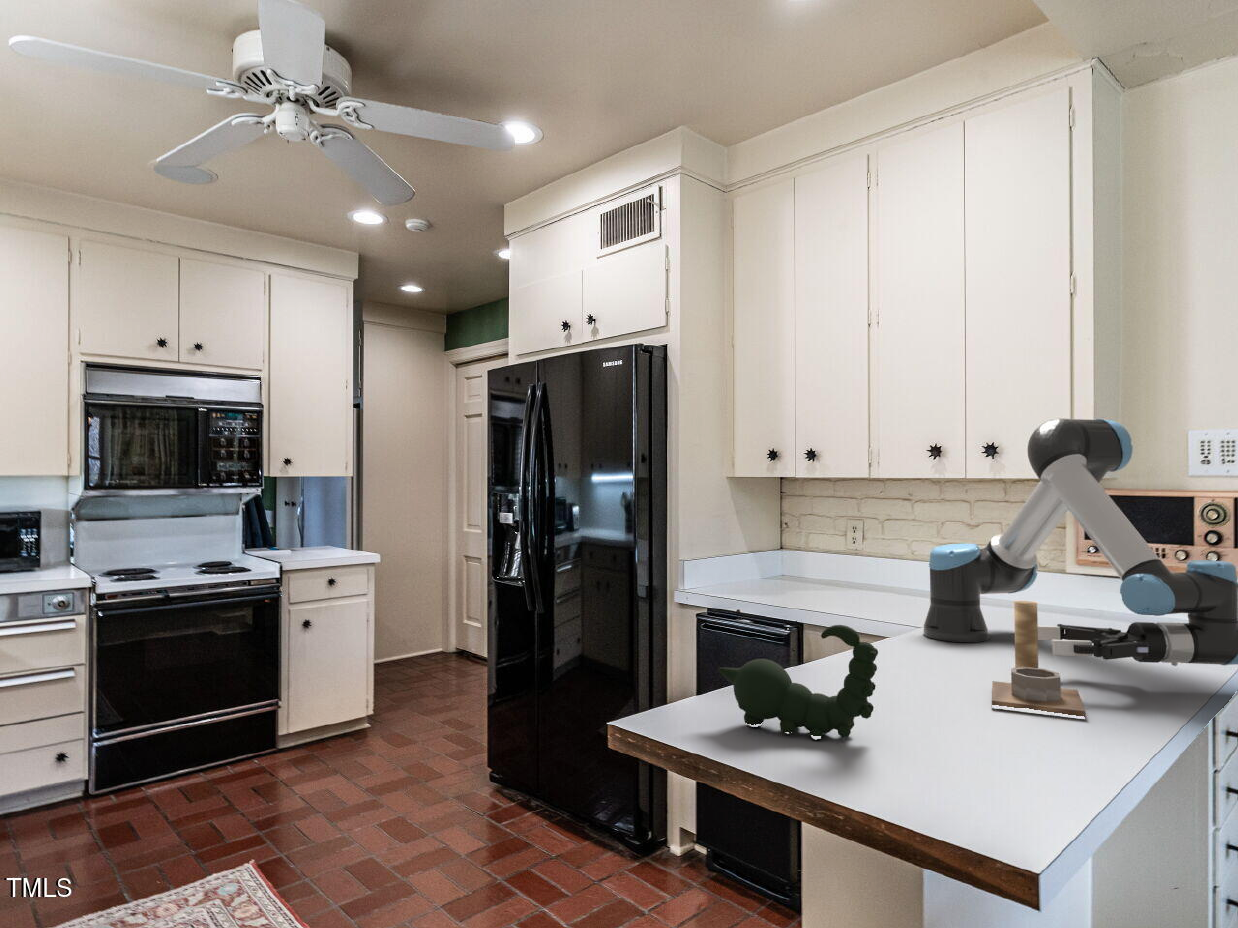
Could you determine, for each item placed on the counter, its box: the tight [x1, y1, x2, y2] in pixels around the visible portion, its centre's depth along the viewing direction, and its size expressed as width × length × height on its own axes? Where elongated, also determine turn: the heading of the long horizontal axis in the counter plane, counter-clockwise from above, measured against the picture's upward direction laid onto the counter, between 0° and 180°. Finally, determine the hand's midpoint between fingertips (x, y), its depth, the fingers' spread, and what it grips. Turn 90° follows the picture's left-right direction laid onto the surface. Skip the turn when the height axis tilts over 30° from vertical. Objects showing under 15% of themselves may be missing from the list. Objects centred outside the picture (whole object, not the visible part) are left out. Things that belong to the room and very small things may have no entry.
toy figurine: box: [717, 624, 879, 738], centre depth 120 cm, size 9×19×25 cm
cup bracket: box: [991, 667, 1086, 718], centre depth 134 cm, size 14×14×6 cm
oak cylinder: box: [1013, 600, 1039, 668], centre depth 147 cm, size 4×4×16 cm
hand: (1038, 639), depth 146 cm, fingers open, 13 cm apart
